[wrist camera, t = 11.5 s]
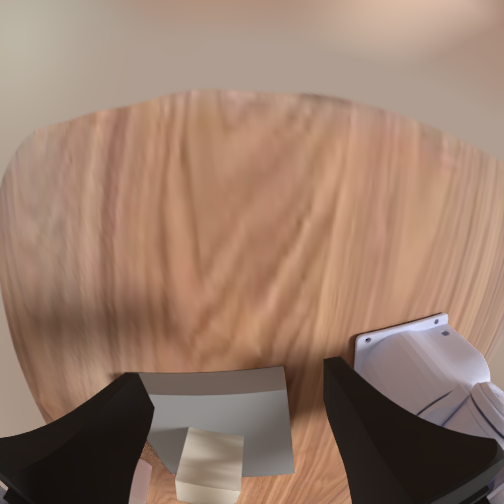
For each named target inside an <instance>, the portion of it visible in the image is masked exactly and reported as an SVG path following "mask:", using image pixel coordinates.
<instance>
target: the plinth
mask: <svg viewBox="0 0 504 504" xmlns="http://www.w3.org/2000/svg"><path fill="white" fill-rule="evenodd" d="M131 373H136V372H131ZM139 376H140V378H141V380H142V382H143V384H144V387H145V389H146V391H147V393H148V395H149V397H150V399H151V401H152V403H153V405H154V407H155V410H154V415H153V420H152V424H151V428H150V431H149V434H148V437H147V441H148V442H149V444H150V445H151V447H152V448H153V450H154V451H155V453H156V454H157V456H158V457H159V458H160V460H161V461H162V462H163V464H164V465H165V467H166V468H167V469H168V471H169V472H170V473H172V474H177V471H178V467H179V463H180V459H181V456H182V452H183V448H184V444H185V441H186V437H187V433H188V429H189V427H191V428H196V429H201V430H207V431H212V432H218V433H225V434H232V435H240V436H244V445H243V461H242V477H258V476H273V475H284V474H293V473H295V472H294V460H293V449H292V438H291V428H290V417H289V407H288V398H287V388H286V380H285V372H284V366H278V367H270V368H261V369H250V370H239V371H225V372H206V373H139Z"/></svg>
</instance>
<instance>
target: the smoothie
mask: <svg viewBox="0 0 504 504" xmlns="http://www.w3.org/2000/svg"><path fill="white" fill-rule="evenodd" d="M151 472H152V466H151V465H150V464H149V463H147V462H146V461H144V460H142V459H139V461H138V464H137V466H136V470H135V473H134V476H133V481H132V486H131V491H130V498H129V504H147V498H148V491H149V485H150V478H151Z"/></svg>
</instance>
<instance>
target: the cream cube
mask: <svg viewBox="0 0 504 504" xmlns="http://www.w3.org/2000/svg"><path fill="white" fill-rule="evenodd" d="M243 445H244V436H240V435H232V434H225V433H218V432H212V431H207V430H201V429H196V428H191V427H189V429H188V433H187V437H186V441H185V444H184V448H183V452H182V456H181V459H180V463H179V467H178V471H177V475H176V479H175V484H176V492H177V498H178V500H179V501H184V502H189V503H194V504H236V502H237V499H238V497H239V494H240V492H241V477H242V461H243Z"/></svg>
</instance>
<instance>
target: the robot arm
mask: <svg viewBox="0 0 504 504" xmlns="http://www.w3.org/2000/svg"><path fill="white" fill-rule="evenodd" d="M435 320H436V321H435ZM447 322H448V315H447V314H446V313H441V314H438V315H435V316H431V317H428V318H425V319H421V320H418V321H414V322H410V323H407V324H403V325H399V326H395V327H391V328H387V329H383V330H379V331H375V332H370V333H366V334H361V335H359V336H358V337H357V338H356V341H355V359H354V369H353V368H352V367H351V366H350V365H349V364H348V363H347V362H346V361H345V360H344V359H343V358H342V357H340V356H338V357H333V358H328V359H324V396H323V397H324V402H325V407H326V412H327V416H328V420H329V423H330V426H331V429H332V432H333V434H334V437H335V440H336V443H337V446H338V449H339V451H340V454H341V457H342V460H343V463H344V466H345V470H346V474H347V479H348V484H349V489H350V494H351V500H352V504H504V392H503V391H502V390H500V389H499V388H498V387H497V386H495V385H494V384H492V383H491V382H490V373H489V368H488V365H487V363H486V361H485V359H484V357H483V356H482V354H481V353H480V352H479V351H478V350H477V349H476V348H474V347H473V346H472V345H471V344H470V343H469V342H468V341H467V340H466V339H464V338H463V337H462V336H461V335H460V334H459V333H458V332H456V331H455V330H454V329H453V328H452V327H451V326H449V325H448V324H447ZM367 338H369V339H368V340H367V341H365V340H366V339H367ZM154 410H155V407H154V405H153V403H152V401H151V399H150V397H149V395H148V393H147V391H146V389H145V387H144V384H143V382H142V380H141V378H140V376H139V373H125V374H123V375H121V376H120V377H119V378H117V379H116V380H114V381H113V382H112V383H110V384H109V385H108V386H106V387H105V388H104V389H103V390H101V391H100V392H99V393H97V394H96V395H95V396H93V397H92V398H91V399H89V400H88V401H86V402H85V403H83V404H82V405H80V406H79V407H78V408H76V409H75V410H73V411H72V412H70V413H68V414H67V415H65V416H63V417H61V418H60V419H58V420H56V421H54V422H52V423H50V424H47V425H45V426H43V427H40V428H38V429H35V430H33V431H30V432H26V433H23V434H19V435H15V436H11V437H4V438H0V480H1V481H2V482H3V483H4V484H5V485H6V486H7V487H8V490H7V491H6V490H4V489H3V488H2V487H1V486H0V504H129V498H130V491H131V486H132V481H133V476H134V473H135V470H136V466H137V464H138V461H139V458H140V456H141V453H142V450H143V448H144V445H145V442H146V440H147V437H148V434H149V431H150V428H151V424H152V420H153V415H154Z"/></svg>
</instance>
